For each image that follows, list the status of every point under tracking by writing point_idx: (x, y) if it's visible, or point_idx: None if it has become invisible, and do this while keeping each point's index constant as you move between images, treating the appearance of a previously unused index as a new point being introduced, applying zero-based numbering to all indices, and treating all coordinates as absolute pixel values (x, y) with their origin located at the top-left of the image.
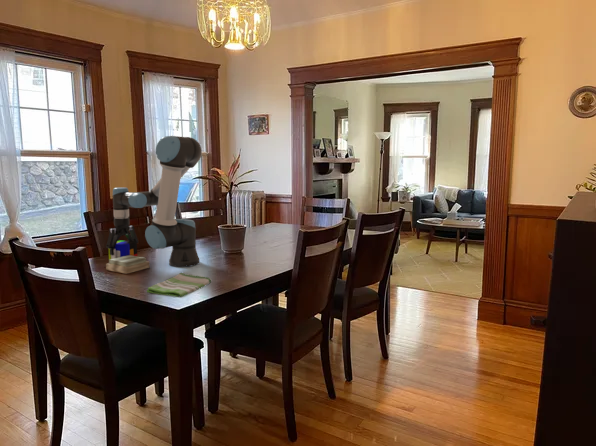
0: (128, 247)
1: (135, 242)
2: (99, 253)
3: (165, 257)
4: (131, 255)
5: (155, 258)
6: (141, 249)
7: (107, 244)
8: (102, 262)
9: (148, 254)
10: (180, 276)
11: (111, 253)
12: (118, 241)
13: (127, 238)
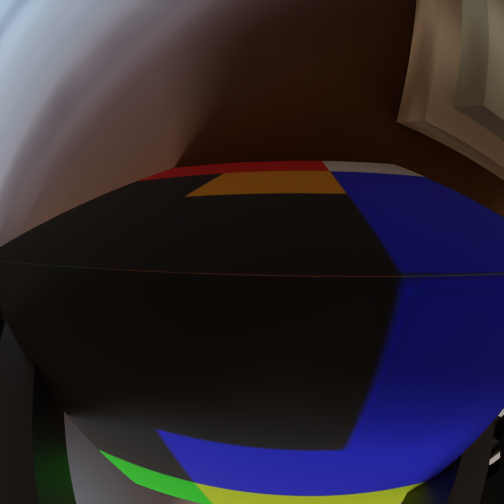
0: (416, 216)
1: (20, 250)
2: None
3: (50, 28)
4: (489, 57)
5: (85, 55)
6: None
7: (494, 472)
8: None
9: (25, 215)
10: None
11: None
12: (202, 497)
13: (68, 465)
